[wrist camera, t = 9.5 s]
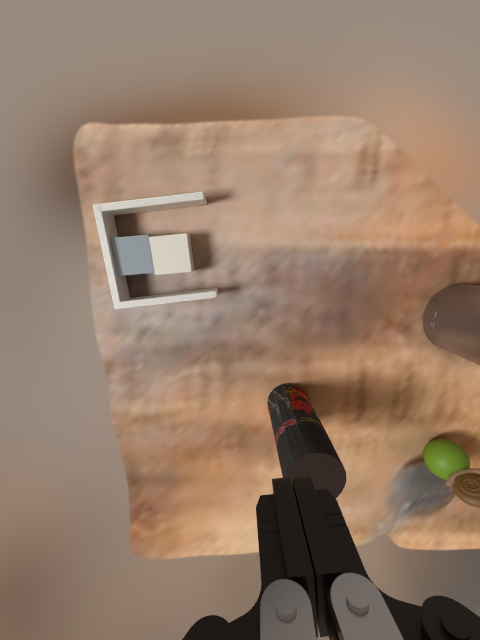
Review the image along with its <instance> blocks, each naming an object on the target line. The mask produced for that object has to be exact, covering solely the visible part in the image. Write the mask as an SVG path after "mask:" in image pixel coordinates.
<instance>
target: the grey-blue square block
mask: <svg viewBox="0 0 480 640" xmlns="http://www.w3.org/2000/svg"><path fill="white" fill-rule="evenodd" d="M149 237H154V236H152V235H138V236H127V237H115V238H111V243H112V249H113V255H114V260H115V266H116V272H117V276H123V275H135V274H147V273H154V267H153V260H152V254H151V247H150V241H149Z"/></svg>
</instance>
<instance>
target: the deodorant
mask: <svg viewBox="0 0 480 640" xmlns="http://www.w3.org/2000/svg"><path fill="white" fill-rule="evenodd" d="M268 409H269V413H270V418H271V423H272V428H273V432H274V437H275V442H276V447H277V451H278V456H279V461H280V465H281V470H282V475H283V478H287V477H290V478H291V477H296V476H306V475H310V477H311V479H312V482H313V485H314V488H315V490H320V489H327V490H328V491H329V492H330V493H331V494H332V496H333V497H334V498H337V497H338V495H339V494H340V493H341V492H342V490H343V488H344V487H345V483H346V471H345V469H344V467H343V465H342V463H341V461H340V459H339V457H338V455H337V453H336V451H335V449H334V447H333V445H332V443H331V441H330V439H329V437H328V435H327V433H326V431H325V429H324V427H323V425H322V423H321V421H320V419H319V417H318V416H317V414H316V412H315V410H314V408H313V406H312V404H311V402H310V400H309V398H308V396H307V394H306V392H305V391H304V390H303V388H301V387H300V386H298V385H295V384H290V383H287V384H282V385H279V386H277V387H276V388H275V389H273V391H272V392H271V393H270V395H269V397H268Z"/></svg>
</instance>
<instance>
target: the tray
mask: <svg viewBox="0 0 480 640" xmlns="http://www.w3.org/2000/svg"><path fill="white" fill-rule="evenodd" d="M199 205H207V202H206V197H205V195H204V193H203V192H195V193H187V194H178V195H170V196H161V197H153V198H145V199H136V200H128V201H120V202H111V203H103V204H95V205H93V209H94V214H95V218H96V223H97V228H98V233H99V237H100V242H101V247H102V251H103V256H104V261H105V266H106V270H107V275H108V280H109V285H110V289H111V294H112V299H113V303H114V308H115V309H120V308H129V307H137V306H146V305H155V304H163V303H172V302H181V301H189V300H198V299H207V298H215V297H217V296H218V294H219V293H218V288H212V289H203V290H194V291H186V292H177V293H168V294H160V295H151V296H142V297H134V298H130V294H129V289H128V284H127V279H126V275H123V276H117V272H116V266H115V260H114V255H113V249H112V243H111V238H115V237H118V234H117V229H116V224H115V219H114V216H115V215H123V214H131V213H140V212H148V211H157V210H165V209H173V208H182V207H190V206H199Z"/></svg>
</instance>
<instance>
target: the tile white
mask: <svg viewBox="0 0 480 640" xmlns="http://www.w3.org/2000/svg"><path fill="white" fill-rule="evenodd" d="M149 241H150V247H151V254H152V260H153V267H154V273H155V275H161V274H171V273H182V272H192V271H195V270H194V262H193V254H192V246H191V238H190V235H189V234H187V233H185V234H175V235H164V236H154V237H149Z"/></svg>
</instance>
